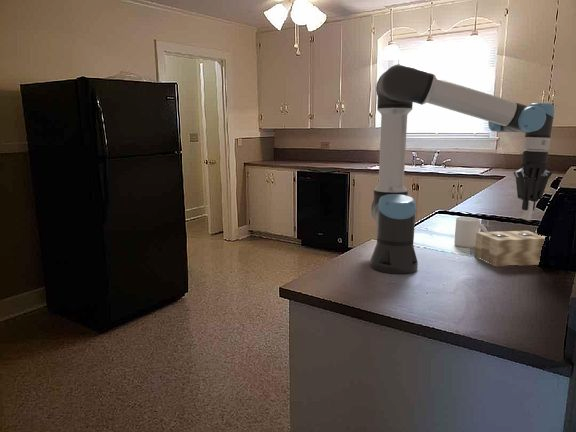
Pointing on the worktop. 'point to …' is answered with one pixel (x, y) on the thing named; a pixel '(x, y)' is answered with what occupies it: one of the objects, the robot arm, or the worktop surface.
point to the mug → (467, 231)
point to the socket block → (509, 248)
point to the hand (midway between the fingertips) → (526, 219)
